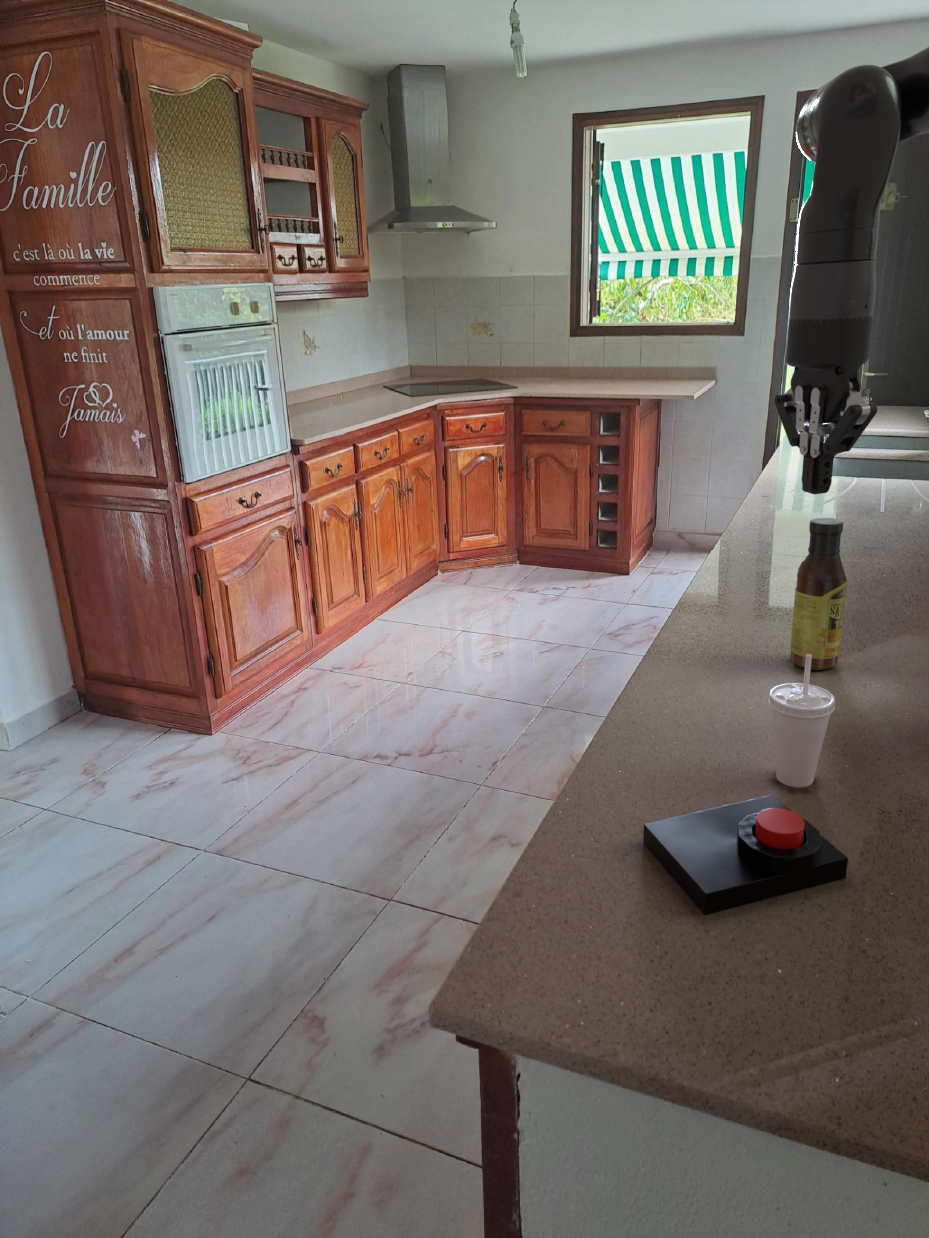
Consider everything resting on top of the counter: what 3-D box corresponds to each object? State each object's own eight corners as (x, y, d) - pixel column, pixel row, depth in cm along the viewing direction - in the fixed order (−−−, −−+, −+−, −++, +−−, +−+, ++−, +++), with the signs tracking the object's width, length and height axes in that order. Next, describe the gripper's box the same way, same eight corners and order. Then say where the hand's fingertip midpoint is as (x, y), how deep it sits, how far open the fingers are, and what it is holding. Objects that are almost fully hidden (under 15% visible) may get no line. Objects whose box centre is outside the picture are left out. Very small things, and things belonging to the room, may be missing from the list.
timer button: (784, 820, 80) (785, 804, 79) (812, 845, 76) (814, 827, 76) (745, 829, 79) (746, 813, 78) (772, 855, 75) (774, 837, 75)
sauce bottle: (834, 675, 116) (849, 529, 109) (784, 668, 119) (796, 525, 112) (841, 657, 121) (856, 517, 114) (794, 651, 124) (805, 513, 117)
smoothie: (839, 780, 92) (853, 657, 87) (802, 801, 89) (814, 675, 84) (787, 756, 97) (797, 639, 92) (750, 776, 94) (758, 655, 89)
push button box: (770, 813, 87) (773, 778, 86) (849, 881, 77) (854, 842, 75) (643, 843, 84) (643, 807, 82) (707, 919, 73) (709, 879, 72)
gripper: (915, 311, 79) (892, 500, 85) (818, 311, 91) (805, 477, 97) (844, 316, 77) (826, 510, 83) (755, 315, 89) (745, 484, 95)
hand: (815, 492), depth 90 cm, fingers closed
